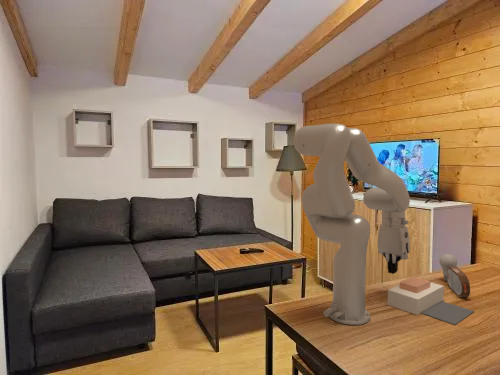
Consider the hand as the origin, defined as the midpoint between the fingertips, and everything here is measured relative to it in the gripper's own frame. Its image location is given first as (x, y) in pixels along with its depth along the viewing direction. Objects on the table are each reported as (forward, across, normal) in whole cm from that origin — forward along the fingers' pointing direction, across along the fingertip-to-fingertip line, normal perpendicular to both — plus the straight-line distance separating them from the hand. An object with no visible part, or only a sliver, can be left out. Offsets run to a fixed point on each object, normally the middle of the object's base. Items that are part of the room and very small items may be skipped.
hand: (392, 272), depth 124 cm
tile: (+3, -8, +1) cm, 9 cm away
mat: (+8, -19, +1) cm, 21 cm away
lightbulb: (+9, -7, -28) cm, 30 cm away
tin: (+9, -14, -19) cm, 25 cm away
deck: (+8, -9, +1) cm, 12 cm away
